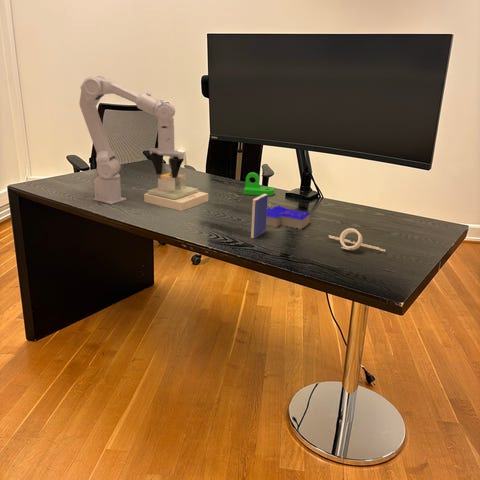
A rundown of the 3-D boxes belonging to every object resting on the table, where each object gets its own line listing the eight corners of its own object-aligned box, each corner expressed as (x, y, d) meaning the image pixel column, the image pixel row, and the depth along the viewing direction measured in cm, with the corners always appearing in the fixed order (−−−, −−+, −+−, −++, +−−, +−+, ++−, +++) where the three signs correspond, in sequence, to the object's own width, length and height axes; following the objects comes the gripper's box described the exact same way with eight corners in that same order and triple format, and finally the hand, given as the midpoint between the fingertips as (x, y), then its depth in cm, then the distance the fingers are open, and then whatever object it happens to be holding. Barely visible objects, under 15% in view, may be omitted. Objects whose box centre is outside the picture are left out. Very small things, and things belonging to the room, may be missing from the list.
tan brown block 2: (170, 188, 178) (170, 176, 176) (175, 186, 182) (175, 173, 180) (181, 190, 177) (180, 177, 175) (186, 187, 180) (185, 174, 179)
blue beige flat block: (269, 216, 167) (270, 201, 165) (309, 223, 160) (311, 208, 158) (256, 224, 157) (257, 209, 155) (298, 233, 151) (299, 217, 149)
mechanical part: (243, 194, 192) (244, 175, 189) (245, 190, 197) (246, 171, 194) (272, 196, 190) (274, 177, 187) (274, 192, 196) (275, 173, 193)
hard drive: (266, 231, 150) (268, 194, 146) (254, 239, 144) (256, 200, 139) (261, 230, 151) (263, 193, 147) (250, 238, 144) (252, 199, 140)
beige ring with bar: (316, 240, 138) (323, 220, 138) (326, 248, 146) (332, 228, 147) (375, 256, 129) (382, 233, 129) (383, 263, 137) (389, 242, 138)
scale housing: (144, 201, 176) (143, 192, 175) (171, 193, 189) (171, 184, 187) (181, 211, 167) (181, 201, 166) (208, 201, 180) (208, 192, 179)
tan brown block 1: (158, 191, 173) (157, 178, 172) (166, 189, 177) (165, 176, 175) (167, 194, 171) (166, 180, 169) (175, 191, 175) (174, 178, 173)
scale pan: (147, 193, 175) (147, 190, 175) (172, 185, 186) (172, 183, 186) (174, 199, 169) (174, 196, 168) (198, 191, 180) (198, 188, 179)
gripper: (143, 137, 168) (144, 174, 172) (174, 142, 160) (175, 180, 165) (156, 135, 173) (157, 171, 178) (187, 139, 166) (187, 177, 171)
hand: (166, 175), depth 172 cm, fingers open, 7 cm apart
